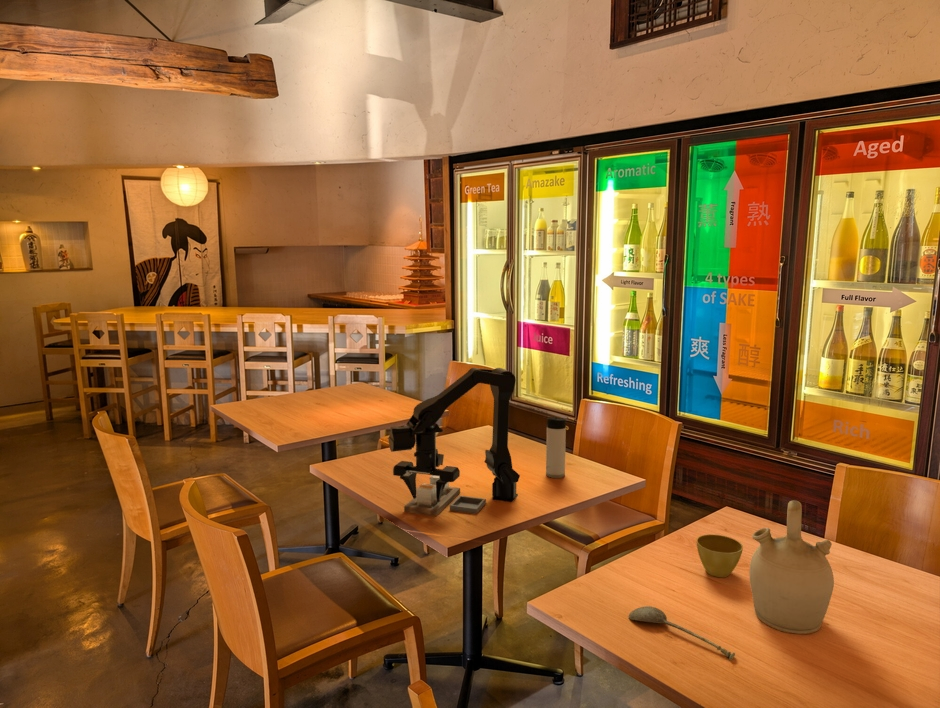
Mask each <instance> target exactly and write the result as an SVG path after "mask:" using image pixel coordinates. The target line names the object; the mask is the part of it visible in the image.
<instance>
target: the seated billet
mask: <svg viewBox="0 0 940 708" xmlns="http://www.w3.org/2000/svg"><path fill="white" fill-rule="evenodd" d="M438 480H439V476H436V475H430V476H429V484H433V485H436V481H438ZM449 487H450V482H448V483H447V484H446V485H445V487H444V490H443V493H442V495H441V496H446V495H447V494H448V493H449Z"/></svg>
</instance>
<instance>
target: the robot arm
mask: <svg viewBox="0 0 940 708" xmlns="http://www.w3.org/2000/svg"><path fill="white" fill-rule="evenodd" d="M516 381H517V380H516V376H515V375H514V373H513V372H511V371H510V370H507V369H505V368H502V367H495V368H494V369H490V368H489V369H488V368H477V367H471V368H470V369H468V371H467V372H466V373H464V374H463V375H462V376H460V377H459V378H458V379H456V380H455V381H454V382H453V383H452V384H450V385H449V386H448V387H446V388H445V389H444V390H442V391H441V392H440V393H439V394H437V395H435V396H432V397H430V398H427V399H425V400H423V401H422V402H419V403H417V404H416V405H415V407H414V408H413V412H412V415H411V416H410V418H409V420H408V421H407V422H406V425H404V426H391V427H390V432H389V433H388V447H389V450H390V452H391V453H393V452H402V451H403V452H404V451H411V450H412V449H414V448H415V452H413V457H415V466H414V463H413V462H412V461H406V460H401V461H399V462H397V464H395V465H394V466H393V468H392V474H393V476H394V477H395V476H397V477H399V479H400V480H403V482H404V484H405V485H406V486H407V488H408V490H409V492H410V494H411V496H412V499H413V498H414V499H415V498H416V496H417V489H416V488H417V480H416V479H417V474H419V475H429V476H432V475H436V476H439V480H438V481H436V497H437V502H439V501H440V498H441V495H442V493H443V490H444V487H445V485H446V484H447V483H448V482H449V483H454V482H455V481H456V480H457V479H458V478H459V477H460V476H461V475H460V472H461V471H460V469H459V467H458V466H451V465H446V466H445V467H443V468H441V469H440V468H439V467H440V466H443V465H444V456H445V454H443V453H439V451H438V448H437V446H436V442H437V439H436V437H437V436H436V435H437V433H443V431H444V430H443V429H442V428H441V427H440V426H439V424H438V423H437V422H438V421H439V420H440V419H441V418H442V417H443V415H444V414H445V412H446V411H447V409H448V408H449V407H450V406H451V405H453V404H454V403H455V402H456V401H458V400H459V399H461V397H463V396H464V395H465V394H466V393H468V392H469V391H471V390H472V389H473V388H474V387H476V386H477V385H478V384H485V385H489V388H490V391H491V394H492V397H493V410H492V411H493V414H492V440H491V441H492V442H491V447H490V449H485V450H484V453H485V460H484V463H485V464H486V468H487V469H488V470H489V471H490V472H491V473H492V475H493V477H494V478H493V482H492V484H491V487H492V489H491V490H492V491H491V494H492V498H491V500H492V501H501V502H507V503H513V502H514V501H515V500H516V498H517V497H518V495H519V493H517V483H518V482H519V479H520V474H519V473H518V472H517V470H515V469H514V468H513V463H512V462H513V461H512V456H511V453H510V449H509V444H508V443H509V419H510V401H511V398H512V395H513V394H514V392H515V385H516Z"/></svg>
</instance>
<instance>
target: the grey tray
mask: <svg viewBox="0 0 940 708" xmlns="http://www.w3.org/2000/svg"><path fill="white" fill-rule="evenodd" d="M486 504H487V499H486V498H484V497H483V498H482V497H474V496H467V495H458V496H457V497H456V498H455V499H454V500H453V501H452V502H451V503H450V504H449V511H452V512H460V513H466V514H467V513H468V514H475V515H477V514H478V513H479V512H480V511H481V510H482V509H483V507H484V506H485V505H486Z"/></svg>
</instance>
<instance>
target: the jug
mask: <svg viewBox="0 0 940 708" xmlns="http://www.w3.org/2000/svg"><path fill="white" fill-rule="evenodd" d="M802 507H803V505H802V503H801V502H800V501H798V500H794V499H793V500H790V501H789V502H788V503H787V511H786V514H787V515H786V535H785V536H781V537H776V538H773V537H772V534H771V529H770V528H769V527H762V528H759V529H758V530H756V531H754V533H752V535H751V537H752V539H753V540H755V541H756V542H758V543H759V544H760V545H759V546H758V547H756V549H755V550H754V552H753V554H752V556H751V558H750V563H749V585H750V590H751V594H752V601H753V602H752V603H753V607H754V613H755V615H756V617H757V618H758V619H759V620H760V621H761V622H762V623H764V625H766V626H768V627H770V628H772V629H775V630H776V631H777V630H778V631H780V632H783V633H786V634H787V633H788V634H795V635H809V634H813V633H816V632H817V631H819V630H820V629H821V628H822V623H823V621H824V619H825V617H826V614H827V611H828V608H829V605H830V602H831V598H832V594H833V591H834V585H835V581H834V580H835V579H834V572H833V568H832V566H831V564H830V562H829V560H828V559H827V557H826V555H830V553H831V551H830V549H831V548H832V542H831V540H829V539H825V540H821V541H817V542H816V543H815V545H813V544H811V543H810V542H807V541H806V540H803V537H802V515H803V513H802V512H803V511H802V510H803V509H802Z"/></svg>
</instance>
